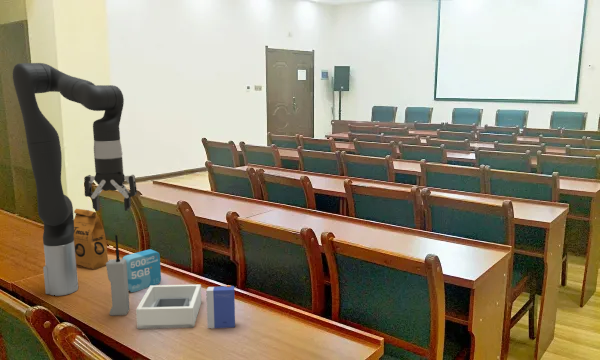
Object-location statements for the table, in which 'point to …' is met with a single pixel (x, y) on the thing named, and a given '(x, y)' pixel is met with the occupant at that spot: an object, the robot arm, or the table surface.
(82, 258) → the coffee package
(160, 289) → the box
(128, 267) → the data package
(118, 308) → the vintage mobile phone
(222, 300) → the walkman
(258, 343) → the table surface
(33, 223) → the table surface
